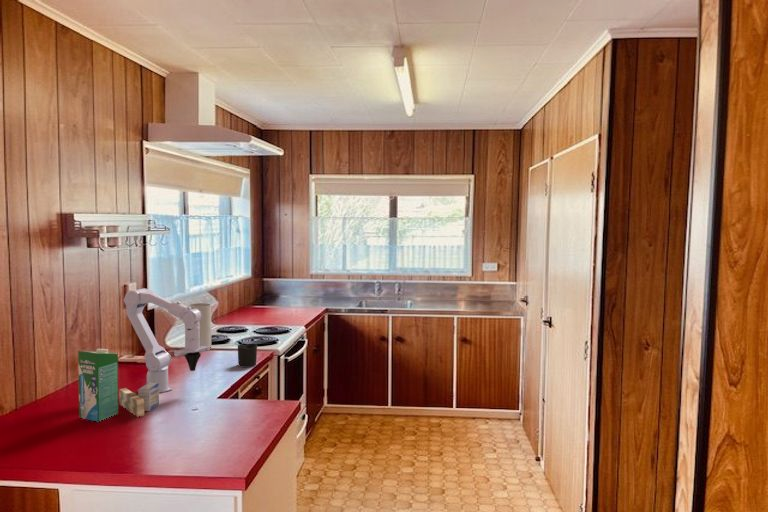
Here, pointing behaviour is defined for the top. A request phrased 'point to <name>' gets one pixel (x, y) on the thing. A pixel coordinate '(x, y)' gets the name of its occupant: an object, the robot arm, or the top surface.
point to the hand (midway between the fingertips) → (192, 370)
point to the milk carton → (98, 384)
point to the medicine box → (149, 395)
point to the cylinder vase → (204, 322)
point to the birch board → (131, 402)
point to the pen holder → (247, 354)
